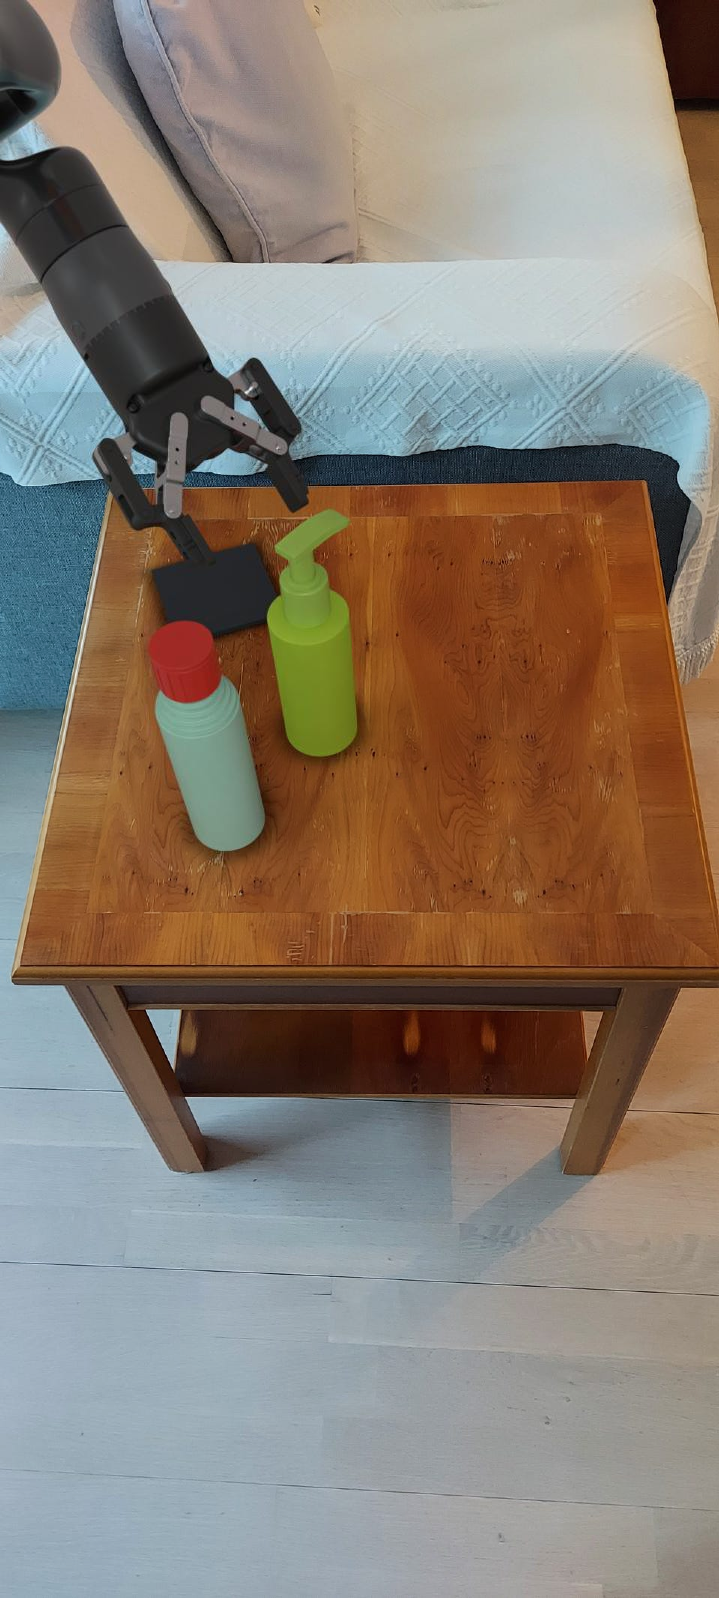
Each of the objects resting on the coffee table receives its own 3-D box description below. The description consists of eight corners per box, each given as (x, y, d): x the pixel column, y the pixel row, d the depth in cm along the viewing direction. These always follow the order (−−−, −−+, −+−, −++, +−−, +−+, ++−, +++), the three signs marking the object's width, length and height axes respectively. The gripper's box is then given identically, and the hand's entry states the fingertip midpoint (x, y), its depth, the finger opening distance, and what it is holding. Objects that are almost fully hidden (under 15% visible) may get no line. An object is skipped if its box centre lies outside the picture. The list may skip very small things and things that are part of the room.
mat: (177, 647, 88) (176, 643, 87) (152, 574, 93) (150, 569, 93) (285, 617, 90) (284, 612, 89) (254, 546, 95) (253, 541, 94)
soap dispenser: (380, 717, 82) (372, 526, 66) (322, 768, 80) (298, 582, 63) (329, 682, 85) (309, 489, 68) (271, 730, 82) (235, 542, 66)
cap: (169, 652, 65) (159, 616, 63) (229, 659, 65) (221, 624, 62) (150, 699, 63) (138, 664, 60) (211, 707, 62) (202, 672, 60)
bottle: (207, 862, 75) (154, 699, 60) (183, 807, 78) (126, 638, 63) (276, 834, 76) (241, 666, 61) (249, 781, 79) (209, 608, 64)
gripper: (193, 304, 73) (309, 503, 77) (27, 388, 68) (161, 596, 72) (227, 256, 66) (352, 477, 71) (45, 345, 61) (192, 577, 66)
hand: (255, 537), depth 71 cm, fingers open, 8 cm apart
